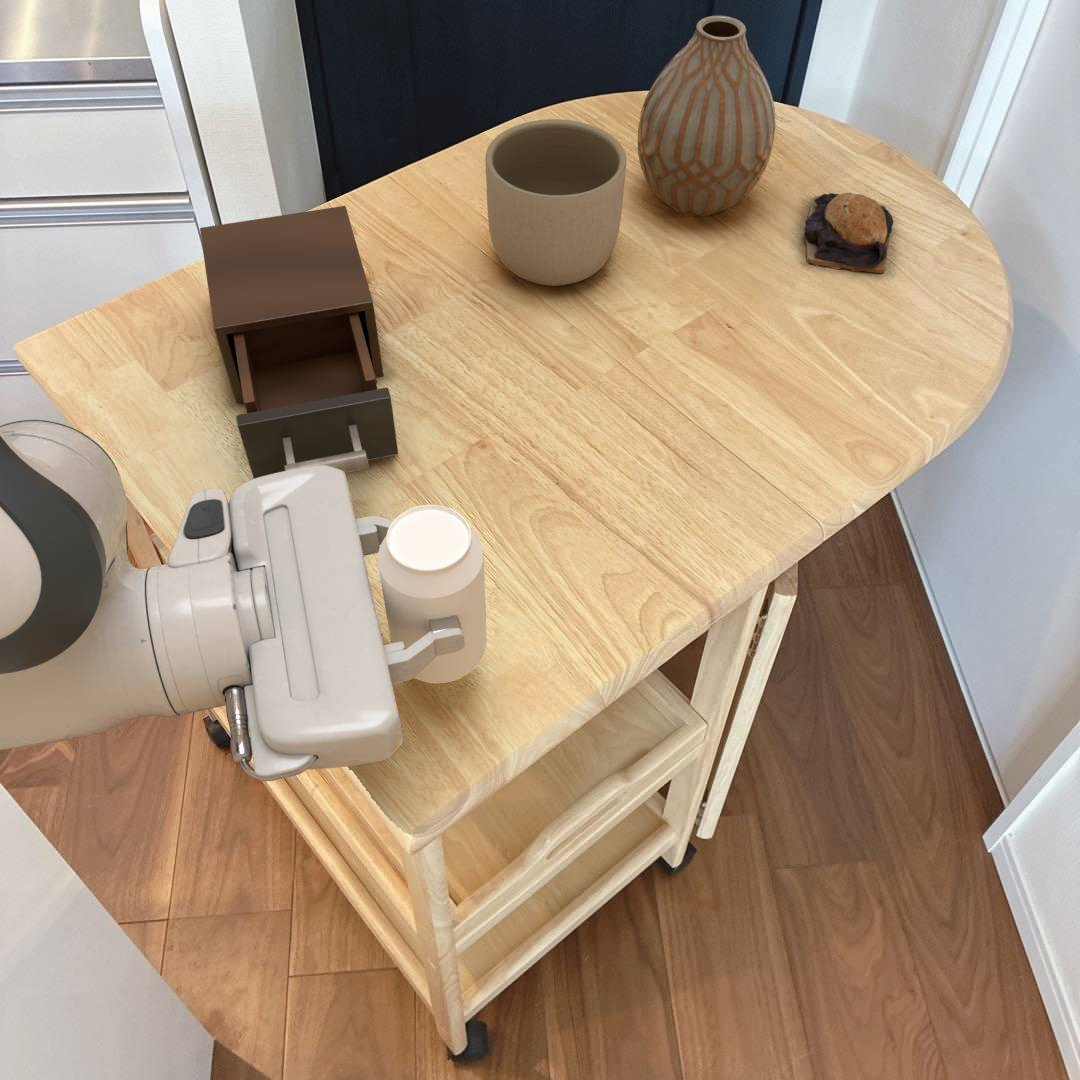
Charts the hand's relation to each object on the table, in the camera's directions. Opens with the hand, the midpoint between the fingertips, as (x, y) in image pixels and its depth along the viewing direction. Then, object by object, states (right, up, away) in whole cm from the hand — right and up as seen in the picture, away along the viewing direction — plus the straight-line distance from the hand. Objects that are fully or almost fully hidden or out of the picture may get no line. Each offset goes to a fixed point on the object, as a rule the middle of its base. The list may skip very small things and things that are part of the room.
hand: (448, 581), depth 65 cm
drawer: (-12, +11, +21) cm, 27 cm away
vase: (+22, +38, +44) cm, 61 cm away
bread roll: (+36, +32, +40) cm, 63 cm away
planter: (+7, +29, +37) cm, 48 cm away
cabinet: (-16, +21, +30) cm, 39 cm away
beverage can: (-1, -5, +6) cm, 7 cm away
